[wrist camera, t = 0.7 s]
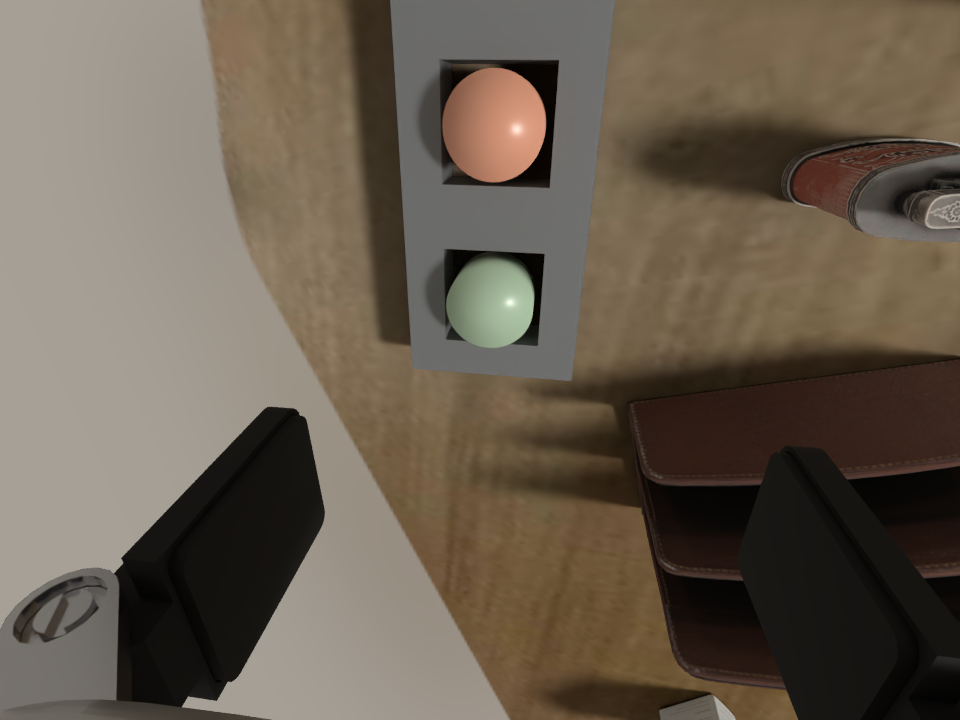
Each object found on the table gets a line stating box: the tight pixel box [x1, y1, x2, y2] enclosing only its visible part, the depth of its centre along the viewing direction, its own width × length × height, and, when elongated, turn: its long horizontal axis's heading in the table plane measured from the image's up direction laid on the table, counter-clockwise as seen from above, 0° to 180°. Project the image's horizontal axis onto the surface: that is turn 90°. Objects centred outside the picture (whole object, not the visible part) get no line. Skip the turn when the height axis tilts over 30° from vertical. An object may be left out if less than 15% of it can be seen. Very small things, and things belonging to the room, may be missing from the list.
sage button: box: [446, 251, 535, 348], centre depth 28 cm, size 5×5×3 cm
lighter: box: [781, 138, 960, 242], centre depth 21 cm, size 8×3×10 cm, turn 95°
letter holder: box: [627, 359, 960, 690], centre depth 27 cm, size 10×20×14 cm, turn 104°
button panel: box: [390, 0, 615, 381], centre depth 25 cm, size 28×10×3 cm, turn 179°
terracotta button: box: [442, 68, 546, 182], centre depth 24 cm, size 5×5×3 cm
